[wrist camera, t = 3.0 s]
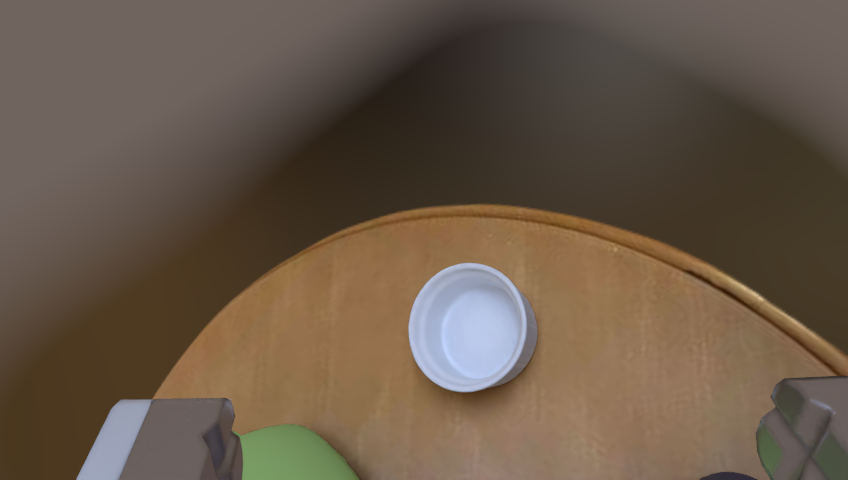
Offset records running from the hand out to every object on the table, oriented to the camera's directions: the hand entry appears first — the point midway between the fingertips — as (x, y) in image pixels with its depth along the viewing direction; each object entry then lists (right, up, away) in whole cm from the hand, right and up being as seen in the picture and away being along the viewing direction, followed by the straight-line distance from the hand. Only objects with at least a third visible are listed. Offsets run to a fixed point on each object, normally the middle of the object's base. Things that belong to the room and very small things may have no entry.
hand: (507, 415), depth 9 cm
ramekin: (+4, -4, +37) cm, 37 cm away
